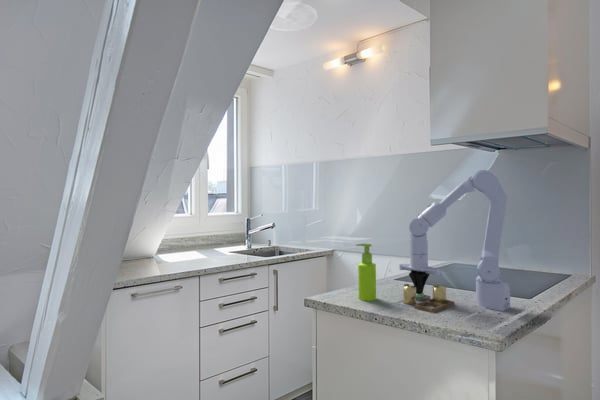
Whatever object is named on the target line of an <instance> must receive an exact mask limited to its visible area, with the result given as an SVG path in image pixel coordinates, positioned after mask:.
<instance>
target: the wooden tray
mask: <svg viewBox="0 0 600 400" xmlns="http://www.w3.org/2000/svg"><path fill="white" fill-rule="evenodd" d="M413 306H414V307H413V309H415V310H421V311H422V312H424V311H425V312H428V313H432V314H436V313H437V312H439V311H443V310H445V309H447V308H450V307H453V306H455V301H454V300H450V299H446V304H438V303H433V298H430V299H429V300H426V301H423V302H417V303H416V304H414V305H413Z"/></svg>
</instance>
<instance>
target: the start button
mask: <svg viewBox="0 0 600 400" xmlns="http://www.w3.org/2000/svg"><path fill="white" fill-rule="evenodd" d="M424 295H425V293H424V292H423V293H422V294H417V293H416V297H420V298H422V297H424Z"/></svg>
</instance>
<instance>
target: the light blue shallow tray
mask: <svg viewBox="0 0 600 400" xmlns="http://www.w3.org/2000/svg"><path fill="white" fill-rule="evenodd" d="M402 302H403V299H402V300H398V301H396V302H393V304H395V305H399V306H403V307H408V308H414V305H408V304H404V303H403V304H401V303H402ZM416 303H421V301H417V300H416Z"/></svg>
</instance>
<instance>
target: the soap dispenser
mask: <svg viewBox="0 0 600 400" xmlns="http://www.w3.org/2000/svg"><path fill="white" fill-rule="evenodd" d="M355 245H356V247H359V246H361V247H364V250H363V251H364V252H362V253H361V262H360V263H358V264H357V265H358V269H357V271H358V300H360V301H364V302H371V301H372V302H373V301H376V300H377V272H376V271H377V270H376V269H377V267H376V266H377V265H376V263H375V262H373V254H372V253H371V252H370V247H372V246H373V244H370V243H359V244H355Z"/></svg>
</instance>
